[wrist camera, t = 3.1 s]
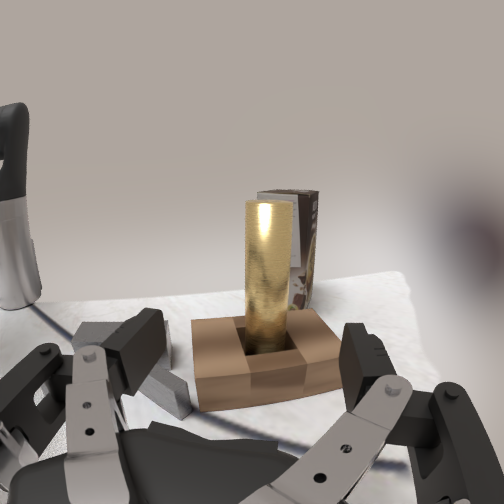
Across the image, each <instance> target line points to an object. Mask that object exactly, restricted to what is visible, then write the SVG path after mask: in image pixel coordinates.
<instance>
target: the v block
mask: <svg viewBox="0 0 504 504" xmlns="http://www.w3.org/2000/svg"><path fill="white" fill-rule="evenodd" d="M123 323H124V322H82V323H81V325H80V326H79V328H78V330H77V332H76V333H75V335H74V337H73V338H72V340H71V343H72V346H73V349H74V352H76V351H77V350H79V349H80V348H83V347H85V346H91V345H95V346H99V345H101V344H102V343H103V342H104V341H105V340H106V339H107V338H108V337H109V336H110V335H111V334H112V333H113V332H114V331H115V330H116V329H117V328H119V326H120V325H121V324H123ZM164 325H165V331H166V337H167V345H166V349H165V351H164V353H163V354H162V356H161V357H160V359H159V360H158V362H157V363H156V364H155V366H154V367H153V369H152V370H151V372H150V373H149V375H148V376H147V377H146V379H145V380H144V382H143V383H142V385H141V386H140V388H139V389H138V390H139V391H140V392H142V393H143V394H144V395H146V396H147V397H148V398H150V399H151V400H152V401H154V402H155V403H156V404H158V405H159V406H160V407H162V408H163V409H165V410H166V411H168V412H169V413H170V414H172V415H173V416H175V417H176V418H178V419H179V420H182V419H184V418H185V417H186V416H187V415H189V414H190V413H191V412H192V407H191V402H190V396H189V391H188V385H187V382H186V381H184V380H182V379H180V378H179V377H177V376H175V375H174V374H172V373H170V372H169V371H167V370H171V358H172V345H171V338H170V332H169V325H168V320H167V321H164ZM40 388H41V389H42V391H43V393H44V395H45V396H46V395H47V394H48V393H49V391H48V389H47V387H46V385H45V383H43V384H42V385H41V386H40Z"/></svg>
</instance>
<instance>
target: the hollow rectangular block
mask: <svg viewBox="0 0 504 504" xmlns="http://www.w3.org/2000/svg"><path fill="white" fill-rule="evenodd" d="M191 328H192V346H193V361H194V374H195V383H196V389H197V396H198V402H199V408H200V412H208V411H219V410H229V409H238V408H245V407H253V406H259V405H266V404H272V403H277V402H283V401H288V400H293V399H298V398H303V397H307V396H312V395H316V394H320V393H324V392H328V391H332V390H336V389H340V388H343V386H342V381H341V375H340V370H339V352H340V347H341V340H340V339H339V338H338V337H337V336H336V335H335V334H334V332H333V331H332V330H331V329H330V328H329V327H328V326H327V325H326V323H325V322H324V321H323V320H322V319H321V318H320V317H319V316H318V314H317V313H316V312H315V311H314V310H313V309H312V308H310V309H303V310H295V311H287V325H286V337H285V349H284V351H281V352H274V353H267V354H259V355H251V356H245V316H236V317H224V318H211V319H196V320H191Z"/></svg>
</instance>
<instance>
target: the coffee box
mask: <svg viewBox="0 0 504 504" xmlns="http://www.w3.org/2000/svg"><path fill="white" fill-rule="evenodd" d="M318 193H319V192H318V191H312V190H270V191H263V192H257V200H284V201H290V202H293V221H292V244H291V264H290V281H289V297H288V311H295V310H303V309H307V306H308V304H309V301H310V299H311V295H312V286H313V275H314V262H315V248H316V232H317V215H318Z"/></svg>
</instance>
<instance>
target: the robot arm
mask: <svg viewBox="0 0 504 504" xmlns="http://www.w3.org/2000/svg"><path fill="white" fill-rule="evenodd" d="M28 136H29V112H28V108H27V106H26V105H25V104H24V103H14V104H9V105H6V106H2V107H0V160H4V161H3V166H2V168H1V170H0V307H1V308H3V309H7V310H13V309H18V308H22V307H25V306H27V305H30V304H32V303H33V302H35V301H36V300H37V299H38V298H39V297H40V296H41V289H42V285H41V281H40V276H39V271H38V267H37V262H36V256H35V250H34V243H33V240H32V239H31V238H30V230H29V222H28V214H27V200H26V173H27V172H26V166H27V165H26V163H27V148H28ZM166 345H167V337H166V331H165V325H164V318H163V313H162V311H161V310H159V309H152V308H144V309H143V310H142V311H141V312H140V313H139V314H138V315H137V316H136V317H135V316H134V317H132V318H130V319H128V320H126V321H125V322H124V323H123V324H121V325H120V326H119V328H117V329H116V330H115V331H114V332H113V333H112V334H111V335H110V336H109V337H108V338H107V339H106V340H105V341H104V342H103V343H102V344H101V345H99V346H95V345H91V346H85V347H83V348H80V349H79V350H77V351H76V352H75V354H74V355H62V354H61V351H60V349H59V346H58V345H56V344H54V343H45V344H42V345H39V346H38V347H36V348H35V349H34V350H33V351H32V352H30V353H29V354H28V355H27V356H26V357H25V358H24V359H22V360H21V361H20V362H19V363H18V364H17V365H16V366H15V367H14V368H13V369H11V370H10V371H9V372H8V373H7V374H6V375H5V376H4V377H3V378H2V379H1V380H0V488H1V489H2V490H3V491H5V492H9V493H8V502H7V504H348V503H347V502H346V501H345V500H346V499H347V498H348V497H349V496H350V494H351V493H352V492H353V491H354V489H355V488H356V487H357V485H358V484H359V483H360V481H361V480H362V479H363V477H364V476H365V474H366V473H367V472H368V470H369V469H370V467H371V466H372V465H373V463H374V462H375V460H376V459H377V457H378V456H379V454H380V453H381V451H382V450H383V448H384V447H385V445H386V444H393V445H401V446H407V448H408V453H409V457H410V462H411V467H412V473H413V478H414V484H415V490H416V497H417V504H504V474H503V472H502V469H501V466H500V464H499V461H498V459H497V456H496V453H495V451H494V449H493V446H492V444H491V442H490V439H489V437H488V435H487V433H486V430H485V428H484V426H483V424H482V422H481V420H480V418H479V416H478V413H477V411H476V409H475V407H474V406H473V404H472V402H471V400H470V398H469V396H468V394H467V392H466V391H465V389H464V388H463V387H462V386H460V385H458V384H456V383H453V382H443V383H440V384H438V385H437V386H436V387H435V389H434V391H433V393H431V392H423V391H416V390H413V388H412V385H411V384H410V382H409V381H408V380H406V379H405V378H403V377H401V376H397V374H396V371H395V369H394V367H393V365H392V362H391V360H390V358H389V356H388V353H387V351H386V350H385V347H384V345H383V342H382V341H381V340H380V339H379V338H378V337H377V336H376V335H374V334H368V333H367V331H366V328H365V326H364V324H363V323H346V324H345V326H344V331H343V337H342V342H341V347H340V352H339V370H340V375H341V381H342V386H343V392H344V398H345V404H346V410H347V411H346V412H345V413H344V414H343V415H342V416H341V417H340V418H339V419H338V420H337V421H336V423H335V424H334V425H333V426H332V427H331V428H330V429H329V430H328V431H327V432H326V433H325V434H324V435H323V436H322V437H321V438H320V439H319V440H318V442H317V443H316V444H315V445H314V446H312V447H311V448H310V449H309V450H308V451H307V452H306V453H305V454H304V455H303V456H302V457H301V458H300V459H299V458H297V457H295V456H293V455H291V454H288V453H285V452H282V451H279V450H277V449H278V441H264V440H253V439H233V440H208V439H205V438H202V437H200V436H198V435H195V434H193V433H191V432H188V431H186V430H184V429H182V428H179V427H174V426H170V425H166V424H162V423H158V422H154V421H152V422H151V424H150V426H149V427H148V429H131V430H129V427H128V423H127V420H126V416H125V412H124V407H123V403H122V400H121V395H122V394H127V395H130V396H134V395H135V393H136V392H137V391H138V389H139V388H140V386H141V385H142V383H143V382H144V380H145V379H146V377H147V376H148V375H149V373H150V372H151V370H152V369H153V367H154V366H155V364H156V363H157V362H158V360H159V359H160V357H161V356H162V354H163V353H164V351H165V349H166ZM43 383H45V385H46V387H47V389H48V391H49V393H48V394H47V395H46V396H45V397H44V398H43V400H42V401H41V402H40V403H39V404H38V405H37V406H36V405H35V403H34V399H33V398H34V394H35V392H36V391H37V390H38V389H39V388H40V386H41V385H42V384H43ZM65 421H66V436H67V451H68V452H67V453H64V454H61V455H58V456H55V457H52V458H49V459H45V460H42V461H39V462H38V458H39V457H40V456H41V454H42V453H43V451H44V450H45V448H46V447H47V446H48V444H49V443H50V441H51V440H52V439H53V437H54V436H55V434H56V433H57V432H58V430H59V429H60V428H61V426H62V425H63V423H64V422H65Z"/></svg>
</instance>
